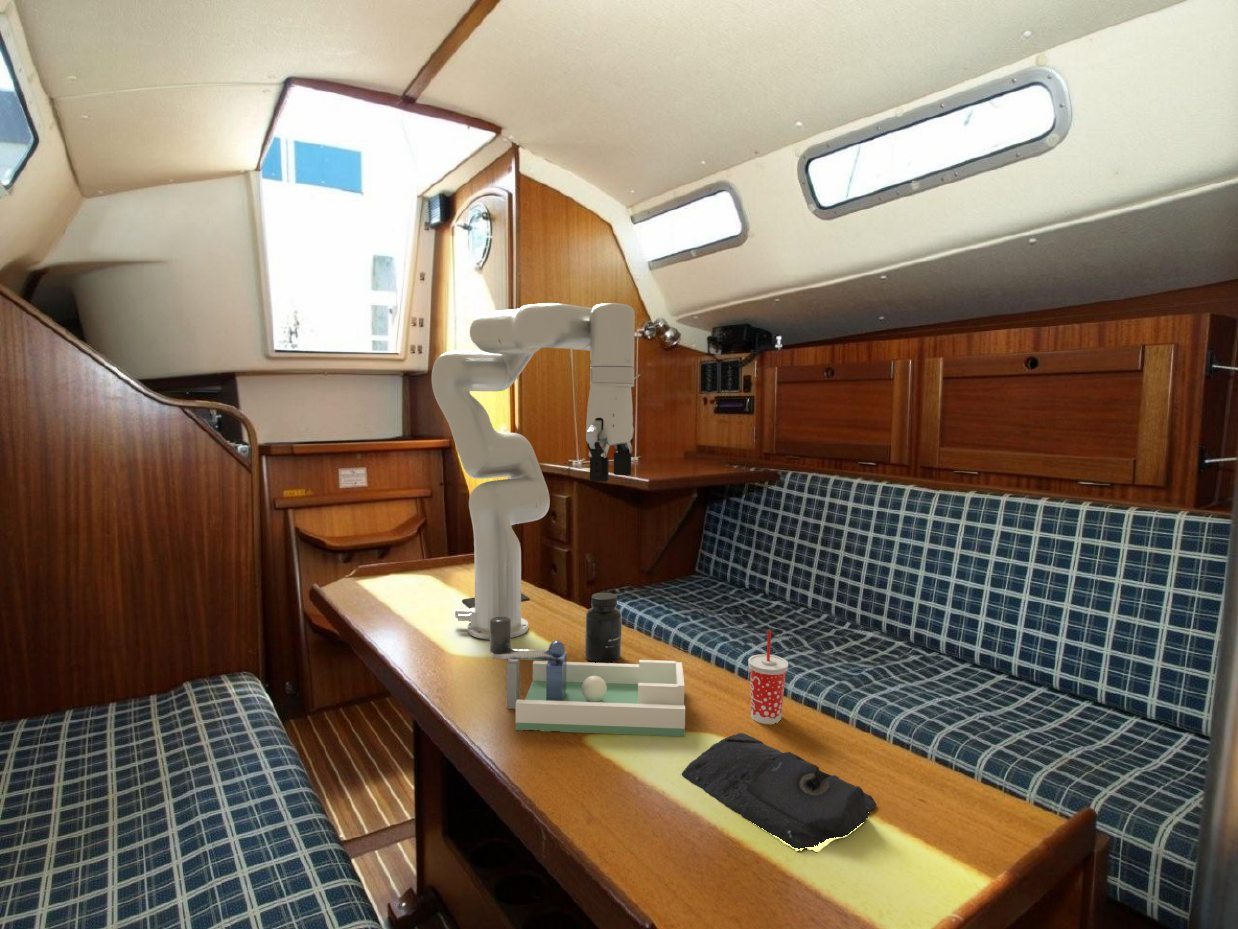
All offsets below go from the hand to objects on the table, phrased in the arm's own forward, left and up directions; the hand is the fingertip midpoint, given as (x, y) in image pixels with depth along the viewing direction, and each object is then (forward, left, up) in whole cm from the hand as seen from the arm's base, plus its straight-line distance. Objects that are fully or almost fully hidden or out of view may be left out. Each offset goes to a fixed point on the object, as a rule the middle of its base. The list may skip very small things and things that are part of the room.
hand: (611, 477), depth 118 cm
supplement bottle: (-2, +8, -36) cm, 36 cm away
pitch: (-1, -13, -35) cm, 38 cm away
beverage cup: (+25, -14, -36) cm, 46 cm away
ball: (-2, -13, -32) cm, 35 cm away
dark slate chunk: (+23, -34, -36) cm, 55 cm away
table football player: (-12, -13, -34) cm, 38 cm away
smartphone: (-30, +41, -36) cm, 62 cm away
